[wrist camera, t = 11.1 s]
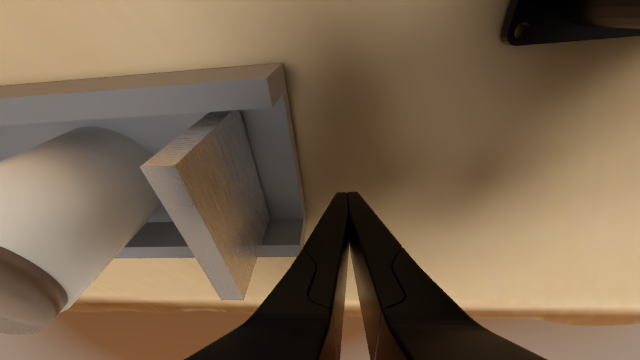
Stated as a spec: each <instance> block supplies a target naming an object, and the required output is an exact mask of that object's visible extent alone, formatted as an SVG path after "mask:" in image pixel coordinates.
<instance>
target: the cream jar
mask: <svg viewBox="0 0 640 360" xmlns="http://www.w3.org/2000/svg"><path fill="white" fill-rule="evenodd" d="M152 157H153V156H152V155H151V154H150V153H149V152H148V151H147V150H146V149H145V148H143V147H142V146H141V145H139V144H138V143H136V142H135V141H133V140H132V139H130V138H128V137H126V136H124V135H122V134H120V133H117V132H115V131H112V130H109V129H105V128H101V127H94V126H85V127H78V128H75V129H73V130H70V131H68V132H66V133H64V134H61V135H59V136H57V137H54V138H52V139H50V140H48V141H45V142H43V143H41V144H39V145H36V146H34V147H32V148H30V149H27V150H25V151H23V152H21V153H18V154H16V155H14V156H12V157H9V158H7V159H5V160H2V161H0V333H8V334H31V333H37V332H39V331H42V330H43V329H44V328H45V327H46V326H47V325H48V324H49V323H50V322H51V321H52V320H53V319H54V318H55V317H56V316H57V314H58V313H59V312H62V311H65V310H67V309H68V308H70V307H71V305H72V304H73V303H74V302H75V301H76V300H77V299H78V298H79V297H80V296H81V294H82V293H83V292H84V291H85V290H86V289H87V288H88V287H89V286H90V284H91V283H92V282H93V281H94V280H95V279H96V278H97V277H98V276H99V274H100V273H101V272H102V271H103V270H104V269H105V268H106V267H107V266H108V264H109V263H110V262H111V261H112V260H113V259H114V258H115V257H116V256H117V254H118V253H119V252H120V251H121V250H122V249H123V248H124V247H125V246H126V244H127V243H128V242H129V241H130V240H131V239H132V238H133V237H134V236H135V234H136V233H137V232H138V231H139V230H140V229H141V228H142V227H143V226H144V224H145V223H146V222H147V221H148V220H149V219H150V218H151V217H152V216H153V214H154V213H155V212H156V211H157V210H158V209H159V208H160V207H161V206H162V203H161V201H160V199H159V198H158V196H157V194H156V193H155V191H154V190H153V188H152V186H151V185H150V183H149V182H148V180H147V178H146V177H145V175H144V173H143V172H142V170H141V169H140V166H141V165H143V164H144V163H145V162H147V161H148V160H149V159H150V158H152Z"/></svg>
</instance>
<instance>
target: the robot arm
mask: <svg viewBox="0 0 640 360" xmlns="http://www.w3.org/2000/svg"><path fill="white" fill-rule="evenodd" d="M521 23H522V24H523V29H522V31H521V33H520V34H519V35H518V36H516V37H515V35H514V33H515V30H516V28H517V26H519V25H520V24H521ZM630 36H640V0H511V2H510V5H509V8H508V12H507V15H506V18H505V21H504V25H503V28H502V31H501V39H502V41H503V42H504V43H505V44H509V45H515V46H520V45H532V44H544V43H557V42H569V41H581V40H593V39H605V38H618V37H630ZM349 246H350V252H351V257H352V263H353V268H354V274H355V279H356V285H357V290H358V295H359V301H360V306H361V312H362V317H363V323H364V328H365V333H366V339H367V344H368V350H369V354H370V360H547V359H545V358H543V357H541V356H539V355H537V354H535V353H533V352H531V351H529V350H527V349H525V348H523V347H521V346H519V345H517V344H515V343H513V342H511V341H509V340H507V339H505V338H503V337H501V336H499V335H497V334H495V333H493V332H491V331H489V330H488V329H486V328H484V327H483V326H481V325H480V324H479V323H477V322H476V321H475V320H473V319H472V318H471V317H470V316H469V315H468V314H467V313H466V312H465V311H463V310H462V309H461V308H460V307H459V306H458V305H457V304H456V303H455V302H454V301H453V300H452V299H451V298H450V297H449V296H448V295H447V294H446V293H445V292H444V291H443V290H442V289H441V288H440V287H439V286H438V285H437V284H436V283H435V282H434V281H433V280H432V279H431V278H430V277H429V276H428V275H427V274H426V273H425V272H424V271H423V270H422V269H421V268H420V267H419V266H418V265H417V263H416V262H415V261H414V260H413V259H412V258H411V256H410V255H409V254H408V253H407V252H406V250H405V249H404V248H402V246H401V244H400V243H399V242H398V241H397V239H396V238H395V237H394V236H393V235H392V233H391V232H390V231H389V230H388V228H387V227H386V226H385V225H384V224H383V222H382V221H381V220H380V219H379V217H378V216H377V215H376V214H375V213H374V211H373V210H372V209H371V208H370V206H369V205H368V204H367V203H366V202H365V200H364V199H363V198H362V197H361V195H360V194H359V193H358V192H348V193H346V192H337V193H336V194H335V196H334V198H333V199H332V201H331V203H330V204H329V206H328V208H327V209H326V211H325V212H324V214H323V216H322V217H321V219H320V221H319V222H318V224H317V226H316V227H315V229H314V230H313V232H312V234H311V235H310V237H309V239H308V240H307V242H306V244H305V245H304V247H303V249H302V250H301V252H300V253H299V255H298V256H297V258H296V260H295V261H294V263H293V264H292V266H291V267H290V268H289V270H288V271H287V272H286V274H285V275H284V276H283V278H282V279H281V280H280V282H279V283H278V284H277V285H276V287H275V288H274V289H273V290H272V292H271V293H270V294H269V295H268V297H267V298H266V299H265V300H264V302H263V303H262V304H261V305H260V307H259V308H258V309H257V310H256V311H255V313H254V314H253V315H252V316H251V317H250V318H249V319H248V320H247V321H246V322H244V323H243V324H242V325H240V326H239V327H238V328H236V329H234V330H233V331H231V332H229V333H228V334H226V335H224V336H223V337H221V338H219V339H218V340H216V341H214V342H213V343H211V344H209V345H208V346H206V347H204V348H203V349H201V350H199V351H198V352H196V353H194V354H193V355H191V356H189V357H188V358H186V359H184V360H340V353H341V341H342V328H343V316H344V303H345V291H346V278H347V266H348V254H349Z"/></svg>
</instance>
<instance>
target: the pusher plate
mask: <svg viewBox="0 0 640 360" xmlns="http://www.w3.org/2000/svg"><path fill="white" fill-rule="evenodd" d="M140 169H141V170H142V172H143V173H144V175H145V177H146V178H147V180H148V182H149V183H150V185H151V186H152V188H153V190H154V191H155V193H156V194H157V196H158V198H159V199H160V201H161V203H162V204H163V206H164V207H165V209H166V211H167V212H168V214H169V216H170V217H171V219H172V220H173V222H174V224H175V225H176V227H177V229H178V230H179V232H180V233H181V235H182V237H183V238H184V240H185V242H186V243H187V245H188V246H189V248H190V250H191V251H192V253H193V255H194V256H195V258H196V259H197V261H198V263H199V264H200V266H201V267H202V269H203V271H204V272H205V274H206V276H207V277H208V279H209V280H210V282H211V284H212V285H213V287H214V289H215V290H216V292H217V293H218V295H219V297H220V298H221V300H244V298H245V295H246V292H247V288H248V285H249V282H250V279H251V276H252V273H253V269H254V266H255V263H256V260H257V257H258V254H259V250H260V247H261V244H262V241H263V238H264V235H265V231H266V228H267V225H268V222H269V219H270V216H269V213H268V209H267V206H266V202H265V199H264V195H263V192H262V188H261V184H260V181H259V177H258V174H257V170H256V167H255V163H254V160H253V156H252V152H251V149H250V145H249V142H248V138H247V135H246V131H245V128H244V124H243V120H242V117H241V113H240V110H230V111H215V112H209V113H208V114H206V115H205V116H204V117H202V118H201V119H200V120H199V121H197V122H196V123H195V124H194V125H192V126H191V127H190V128H188V129H187V130H186V131H185V132H183V133H182V134H181V135H180V136H178V137H177V138H176V139H175V140H173V141H172V142H171V143H169V144H168V145H167V146H166V147H164V148H163V149H162V150H161V151H159V152H158V153H157V154H155V155H154V156H153V157H152V158H150V159H149V160H148V161H147V162H145V163H144V164H143V165H141V166H140Z"/></svg>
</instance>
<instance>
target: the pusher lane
mask: <svg viewBox="0 0 640 360" xmlns="http://www.w3.org/2000/svg"><path fill="white" fill-rule="evenodd" d="M230 110H240V113H241V117H242V120H243V124H244V128H245V131H246V135H247V138H248V142H249V145H250V149H251V152H252V156H253V160H254V163H255V167H256V170H257V174H258V177H259V181H260V184H261V188H262V192H263V195H264V199H265V202H266V206H267V209H268V213H269V216H270V219H269V222H268V225H267V228H266V231H265V235H264V238H263V241H262V244H261V247H260V250H259V254H258V257H297V256H298V255H299V253H300V252H301V250H302V249H303V246H304V238H305V231H306V223H307V215H306V209H305V202H304V196H303V190H302V183H301V177H300V170H299V164H298V158H297V151H296V145H295V138H294V132H293V126H292V119H291V113H290V106H289V100H288V94H287V87H286V81H285V74H284V68H283V63H273V64H261V65H249V66H237V67H225V68H213V69H201V70H189V71H177V72H165V73H153V74H141V75H129V76H116V77H104V78H92V79H80V80H68V81H56V82H44V83H32V84H20V85H8V86H0V161H2V160H5V159H7V158H9V157H12V156H14V155H16V154H18V153H21V152H23V151H25V150H27V149H30V148H32V147H34V146H36V145H39V144H41V143H43V142H45V141H48V140H50V139H52V138H54V137H57V136H59V135H61V134H64V133H66V132H68V131H70V130H73V129H75V128H78V127H85V126H94V127H101V128H105V129H109V130H112V131H115V132H117V133H120V134H122V135H124V136H126V137H128V138H130V139H132V140H133V141H135V142H136V143H138V144H139V145H141V146H142V147H143V148H145V149H146V150H147V151H148V152H149V153H150V154H151V155H152V156H154V155H155V154H157V153H158V152H159V151H161V150H162V149H163V148H164V147H166V146H167V145H168V144H169V143H171V142H172V141H173V140H175V139H176V138H177V137H178V136H180V135H181V134H182V133H183V132H185V131H186V130H187V129H188V128H190V127H191V126H192V125H194V124H195V123H196V122H197V121H199V120H200V119H201V118H202V117H204V116H205V115H206V114H208V113H209V112H215V111H230ZM115 258H195V256H194V255H193V253H192V251H191V250H190V248H189V246H188V245H187V243H186V242H185V240H184V238H183V237H182V235H181V233H180V232H179V230H178V229H177V227H176V225H175V224H174V222H173V220H172V219H171V217H170V216H169V214H168V212H167V211H166V209H165V207H164V206H163V204H162V206H161V207H160V208H159V209H158V210H157V211H156V212H155V213H154V214H153V216H152V217H151V218H150V219H149V220H148V221H147V222H146V223H145V224H144V226H143V227H142V228H141V229H140V230H139V231H138V232H137V233H136V234H135V236H134V237H133V238H132V239H131V240H130V241H129V242H128V243H127V244H126V246H125V247H124V248H123V249H122V250H121V251H120V252H119V253H118V254H117V256H116V257H115Z"/></svg>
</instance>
